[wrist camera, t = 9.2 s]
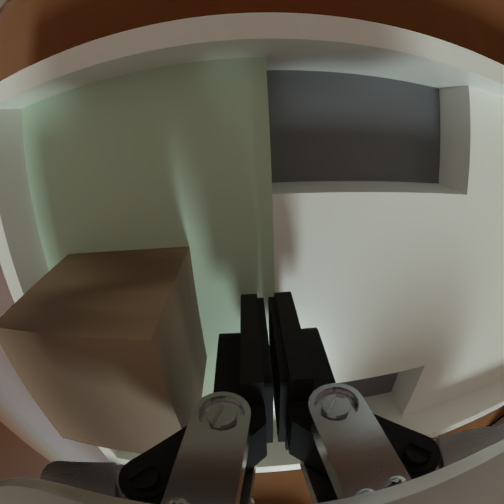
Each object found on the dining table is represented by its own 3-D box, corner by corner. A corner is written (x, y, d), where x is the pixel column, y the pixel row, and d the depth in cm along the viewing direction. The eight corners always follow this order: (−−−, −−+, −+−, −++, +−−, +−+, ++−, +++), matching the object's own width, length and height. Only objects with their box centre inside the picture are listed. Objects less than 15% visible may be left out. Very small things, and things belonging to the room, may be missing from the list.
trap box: (554, 120, 10) (601, 130, 6) (500, 359, 17) (526, 392, 13) (41, 97, 10) (-25, 96, 6) (126, 410, 17) (110, 461, 13)
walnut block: (189, 246, 10) (150, 340, 6) (207, 357, 12) (194, 458, 7) (68, 253, 10) (-8, 326, 5) (102, 353, 12) (62, 437, 7)
